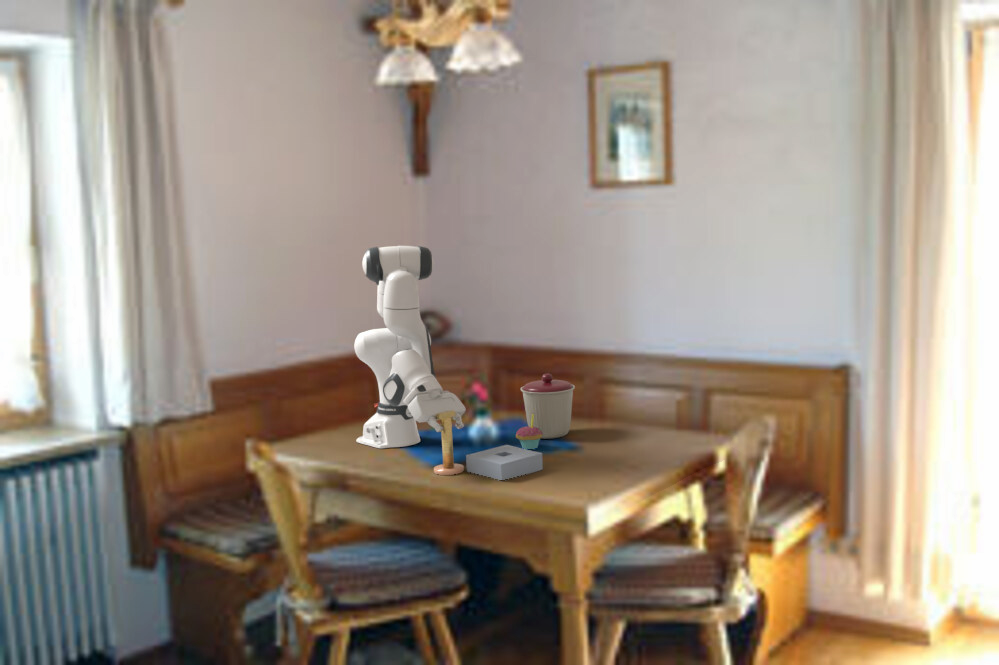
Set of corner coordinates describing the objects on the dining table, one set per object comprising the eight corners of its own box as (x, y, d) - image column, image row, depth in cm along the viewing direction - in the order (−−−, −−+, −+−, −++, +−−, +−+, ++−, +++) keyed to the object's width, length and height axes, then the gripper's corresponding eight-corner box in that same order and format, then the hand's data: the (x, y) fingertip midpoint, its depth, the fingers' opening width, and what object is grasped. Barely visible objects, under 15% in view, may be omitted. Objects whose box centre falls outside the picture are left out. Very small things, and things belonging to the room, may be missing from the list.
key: (437, 468, 309) (434, 413, 307) (453, 464, 313) (450, 409, 310) (444, 470, 306) (440, 414, 304) (459, 466, 310) (456, 411, 308)
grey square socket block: (466, 471, 309) (466, 455, 308) (507, 460, 319) (506, 444, 318) (501, 481, 296) (500, 464, 296) (542, 469, 307) (542, 453, 306)
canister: (577, 428, 356) (575, 368, 353) (575, 441, 338) (573, 377, 335) (525, 429, 358) (522, 369, 355) (520, 442, 340) (517, 379, 337)
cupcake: (547, 446, 334) (546, 409, 332) (535, 452, 327) (533, 415, 325) (524, 444, 338) (522, 407, 337) (511, 450, 331) (509, 413, 329)
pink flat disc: (427, 473, 309) (427, 469, 309) (447, 465, 316) (447, 462, 316) (450, 477, 303) (450, 473, 303) (470, 469, 311) (469, 465, 310)
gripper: (444, 396, 323) (467, 432, 318) (399, 401, 307) (422, 439, 302) (455, 384, 320) (479, 419, 315) (410, 388, 304) (434, 425, 299)
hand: (451, 429), depth 308 cm, fingers open, 8 cm apart
